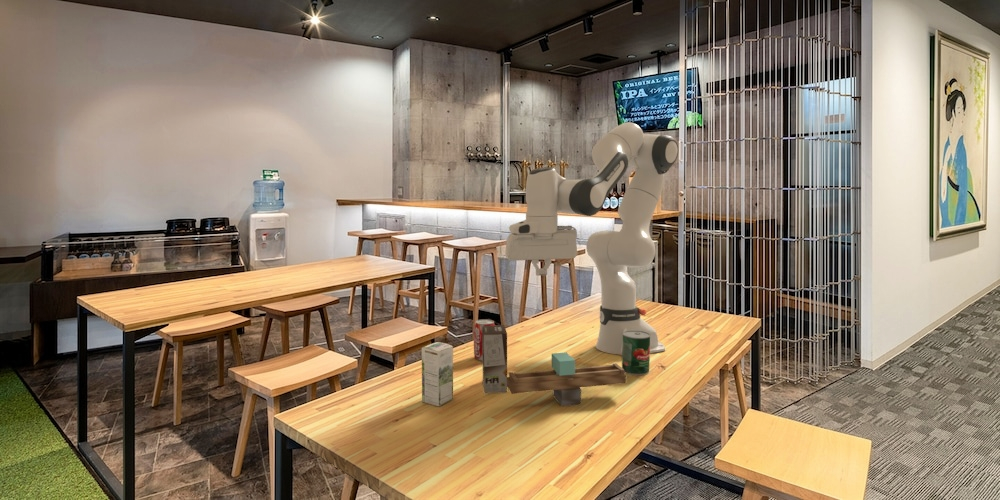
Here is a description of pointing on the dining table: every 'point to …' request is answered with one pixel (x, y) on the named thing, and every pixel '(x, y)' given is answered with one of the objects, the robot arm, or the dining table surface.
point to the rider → (563, 364)
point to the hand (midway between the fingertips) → (541, 275)
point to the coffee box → (494, 358)
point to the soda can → (480, 336)
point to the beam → (566, 382)
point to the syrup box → (437, 373)
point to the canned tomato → (636, 352)
